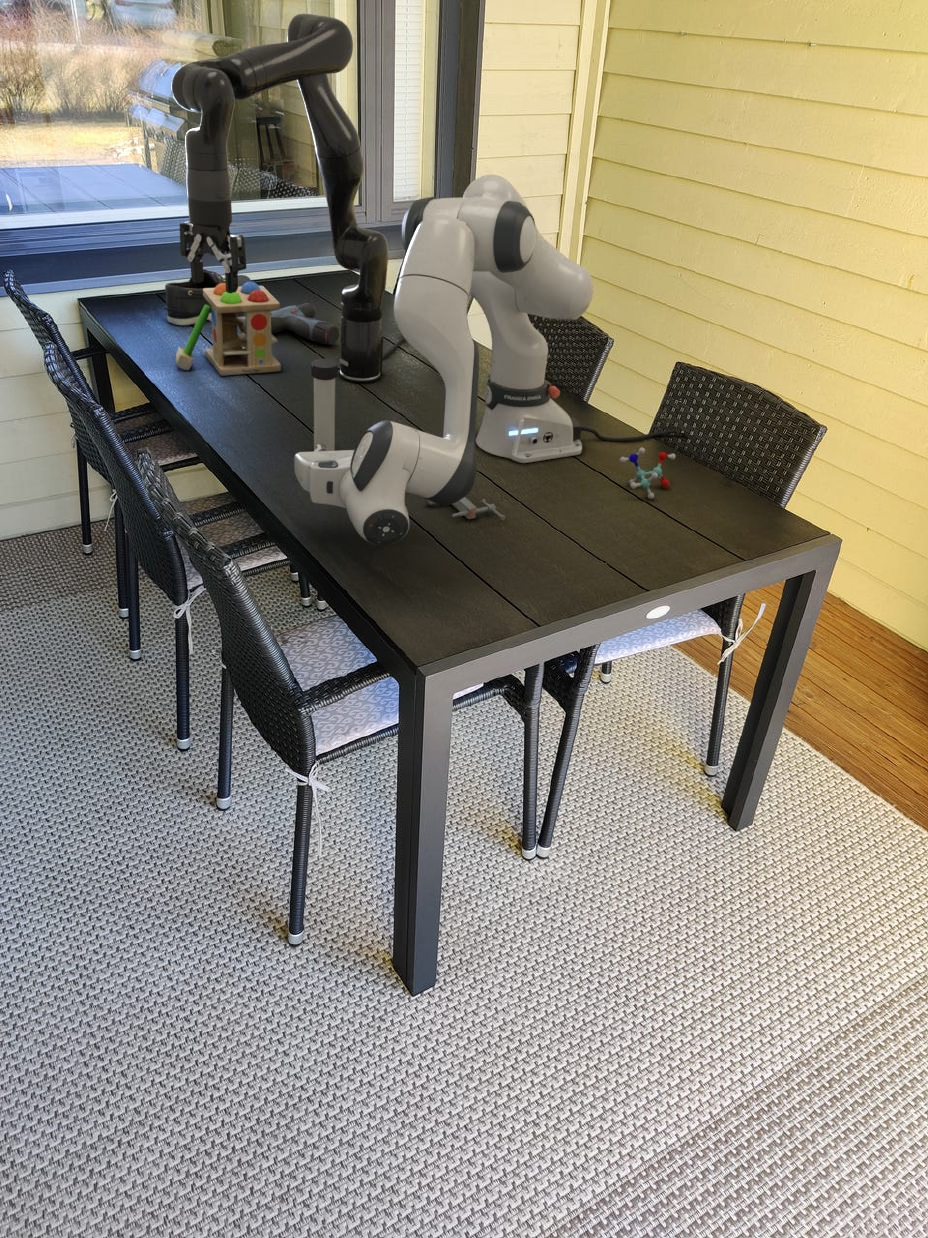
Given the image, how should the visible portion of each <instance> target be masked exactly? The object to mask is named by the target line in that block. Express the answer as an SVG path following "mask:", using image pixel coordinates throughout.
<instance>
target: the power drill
mask: <svg viewBox="0 0 928 1238" xmlns="http://www.w3.org/2000/svg"><path fill="white" fill-rule="evenodd" d="M315 315H316V308H315V306H314V305H313V304H312V303H311V302H305V303H300V304H295V305H294V304H293V305H289V306H285V307H283V308H280V310H271V334H272V335H273V334H275V333H276V334H277V333H279V332H282V331H286V330H290V331H292V332H293V333H295V334H296V335H298V336H300V337H302V338H305V339H307V340H309V341H313V342H316V343H319V344H323V345H327V346H333V345H335V344H336V343H337V342H338V340H339V337H340V330H339V328H338V326H336V325H334V324H333V323H332V324H331V323H329V322H328V321H323V320H321V319H317V318H314V317H315Z"/></svg>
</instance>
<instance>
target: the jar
mask: <svg viewBox="0 0 928 1238" xmlns="http://www.w3.org/2000/svg"><path fill="white" fill-rule="evenodd" d="M335 419H336V378H335V379H331V380H320V379H316V378H314V377H313V452H314V451H315V450H316V445H325V446H326V451H335V443H336V442H335V441H336V439H335V435H336V433H335V432H336V429H335V428H336V425H335V424H336V422H335V421H336V420H335Z"/></svg>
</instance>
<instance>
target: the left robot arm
mask: <svg viewBox="0 0 928 1238" xmlns="http://www.w3.org/2000/svg"><path fill="white" fill-rule="evenodd" d="M353 52H354V41H353V36H352V33H351V30H350V28H349V27H348V26H347V24H346V23H345V22H344V21H342V20H340V19H338V18H336V17H332V16H324V15H319V14H312V13H299V14H296V15H294V16H293V17H292V18H291V20H290V21H289V24H288V28H287V34H286V41H284V42H276V43H266V44H260V45H254V46H251V47H248V48H244V49H241V50H239V51H236V52H232V53H231V54H230V53H229V55H226V56H223V57H218V58H217V57H215V58H208V59H202V60H196V61H191V62H188V63H186V64H183V65H182V66H180V67H179V68H178V69H177V70H176V71H175V73H174V74H173V76H172V79H171V85H170V88H171V93H172V96H173V99H174V100H175V102H176V103H177V105H179V106H180V107H181V108H183V110H187V111H189V112H192V113H197V114H201V118H200V124H199V127H195V128H191V129H189V130H188V131H187V132H186V134H185V137H184V138H185V140H184V142H185V144H184V146H185V158H186V193H187V194H186V195H187V208H188V209H187V210H188V220H189V221H184V222H180V223H179V246H180V248H179V249H180V255H181V256H182V257H185V258H187V260H188V262H189V265H190V275H191V276H190V278H191V277H192V280H193V282H194V283H200V282H203V281H204V274H203V270H204V261H203V260H202V259H203V258H204V255H205V254H209V255H210V256H212V257H216V260H217V261H218V262H219V263H220V264H221V265H222V267H223V269H224V271H225V272H224V278H225V283H226V292H227V293H234V292H236V291H237V289H238V275H239V274H238V273H239V272H241V271H244V270H246V269H247V256H246V246H245V245H246V243H245V237H244V236H243V234H238V235H234V234H232V233H231V231H230V226H231V225H232V222H233V210H232V190H231V189H232V188H231V178H230V172H229V159H228V139H229V135H230V130H231V125H232V120H233V114H234V110H235V102H236V101H243V100H246V99H249V98H252V97H254V96H256V95H258V94H261V93H264V92H265V91H269V90H271V89H273V88H276V87H279V86H282V85H284V84H288V83H291V82H294V81H297V85H298V87H299V90H300V93H301V96H302V100H303V102H304V106H305V107H304V108H305V111H306V116H307V119H308V123H309V127H310V130H311V135H312V141H313V145H314V150H315V155H316V159H317V164H318V168H319V172H320V175H321V176H320V177H321V179H322V185H323V189H324V194H325V195H324V196H325V199H326V204H327V209H328V217H329V223H330V233H331V234H330V235H331V241H332V248H333V253H334V257H335V259H336V261H337V263H338V265H340V266H341V268H344V269H346V270H349V271H352V272H356V273H359V277H358V282H357V284H351V285H348V286H345V287H343V289H342V290H341V307H340V308H341V310H340V311H341V312H340V314H341V315H340V322H341V323H340V358H339V363H340V369H339V376H340V377H341V378H342V380H345V381H348V382H352V383H359V384H360V383H361V384H364V383H365V384H366V383H367V384H369V383H373V382H376V381H378V380H380V378H381V375H382V374H383V360H384V359H385V358H386V357H387V356H389V355H390V354H392V353H393V352H394V351H395V350H396V349H397V348H399V346H401V345H402V343H403V342H404V340H406V339H405V338H404V337H403V335H402V336H401V337H400V339H398V341H397V342H396V343H395V344H394V345H393V346H392V347H391V348H390V349H388V350H387V351H386V352H384V335H383V334H382V323H383V299H384V295H385V292H386V286H387V275H388V265H389V243H388V240H387V238H386V236H385V235H384V234H383V233H381V232H380V231H376V230H372V229H369V228H365V227H361V226H359V224H358V221H357V217H356V211H355V198H356V196H357V193H358V190H359V188H360V185H361V183H362V180H363V177H364V175H365V174H364V173H365V161H364V156H363V152H362V146H361V141H360V137H359V133H358V131H357V129H356V128H355V126H354V124H353V122H352V120H351V118H350V117H349V116H348V114H347V112H346V111H345V109H344V108H343V106H342V105H341V103H340V102H339V100H338V99H337V97H336V95H335V93H334V91H333V89H332V86H331V85H330V81H329V76H328V75H330V74H338V73H340V72H343V70H345V69H346V68H347V67H348V65H349V64H350V62H351V58H352V57H353ZM225 253H226V254H225Z"/></svg>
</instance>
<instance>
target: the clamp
mask: <svg viewBox="0 0 928 1238" xmlns="http://www.w3.org/2000/svg"><path fill="white" fill-rule="evenodd" d="M427 502H428V504H429V505H438V504H437V503H435V502H432V501H430V500H427ZM480 504H481V505H484V506H483V507H478V508H477V506H476V505H475V504H473V502H472V501H470V500H469V499H468V498H467V497H466V496H465V497H464V498H462V499H461V500H459V501H457V502H455V503H453V504H451V505H452V506H453V508H455V509H456V510H457V511H459V512H455V513H452V514H451V517H452V518H455V517H456V518H457V517H463V516H464V517H465V518H466V519H468V520H472V519H476V517H477V515H476V514H479V513H484V512H487V513H491V512H493V513H494V514H495V515H497V516H498V517H499V519H500V520H501V521H504V520H506V516H505V515H504V514H501V513H500V512H499V511H498V510H497V509H496V508H497V507H496V505H495V504H494V503H491V504H490V503H488V502H487V501H486V499H485V498H483V499H481V501H480Z"/></svg>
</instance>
